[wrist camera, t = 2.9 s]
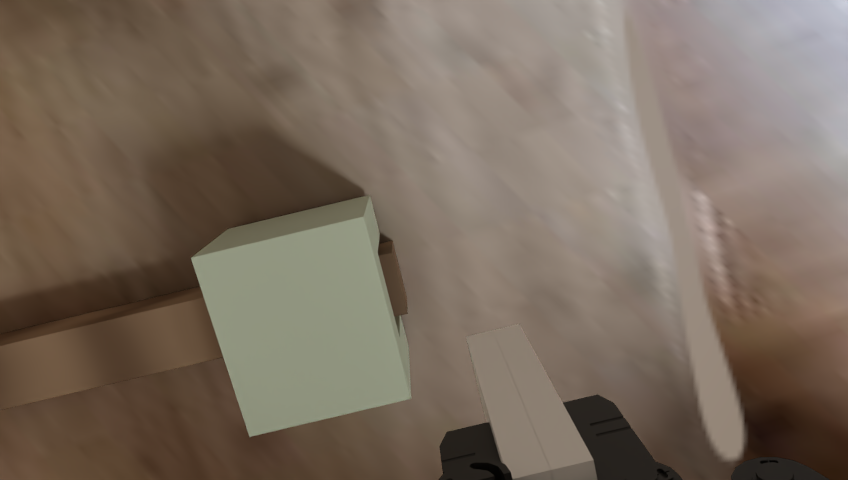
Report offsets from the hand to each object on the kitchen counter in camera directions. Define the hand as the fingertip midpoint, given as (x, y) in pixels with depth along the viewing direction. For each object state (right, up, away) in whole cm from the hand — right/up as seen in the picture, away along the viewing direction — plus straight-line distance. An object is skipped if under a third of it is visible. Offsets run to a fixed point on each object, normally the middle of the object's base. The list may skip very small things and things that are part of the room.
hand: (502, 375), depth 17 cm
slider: (-7, +1, +14) cm, 16 cm away
